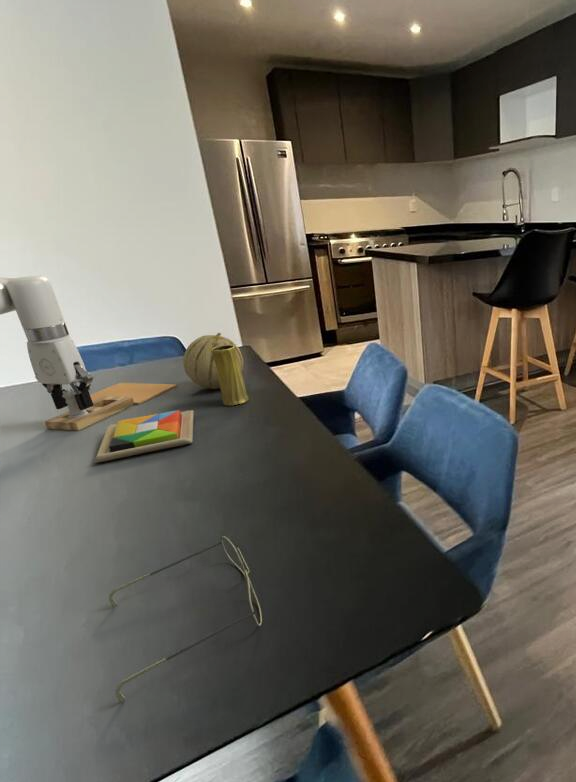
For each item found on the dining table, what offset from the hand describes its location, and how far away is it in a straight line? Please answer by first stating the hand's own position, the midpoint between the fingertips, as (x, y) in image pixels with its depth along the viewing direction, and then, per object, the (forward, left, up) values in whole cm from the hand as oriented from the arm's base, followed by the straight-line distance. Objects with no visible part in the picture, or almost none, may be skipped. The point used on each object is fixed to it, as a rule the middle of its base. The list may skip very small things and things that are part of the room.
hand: (75, 406), depth 117 cm
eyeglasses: (+71, -50, -4) cm, 87 cm away
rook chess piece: (0, 0, -4) cm, 4 cm away
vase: (+32, +15, -4) cm, 36 cm away
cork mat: (-4, +18, -4) cm, 19 cm away
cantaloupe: (+20, +25, -4) cm, 33 cm away
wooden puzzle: (+26, -7, -4) cm, 27 cm away
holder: (0, +3, -4) cm, 5 cm away
